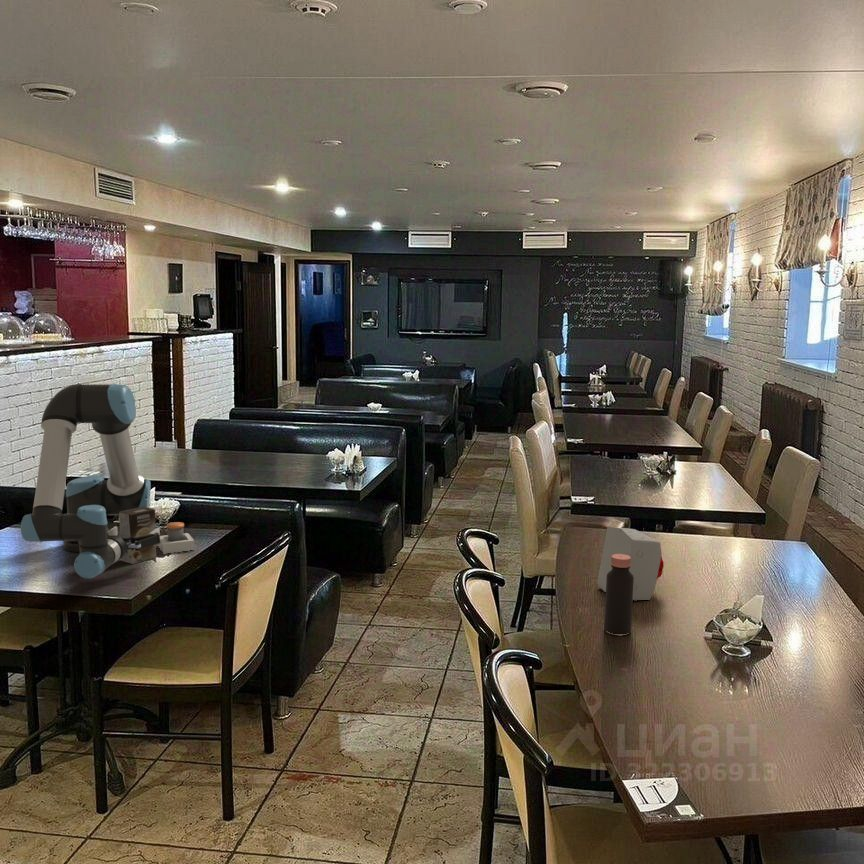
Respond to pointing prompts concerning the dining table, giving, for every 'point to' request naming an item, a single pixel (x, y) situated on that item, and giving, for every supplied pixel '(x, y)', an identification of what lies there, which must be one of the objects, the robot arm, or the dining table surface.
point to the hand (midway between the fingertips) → (137, 531)
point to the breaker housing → (176, 544)
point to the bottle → (619, 596)
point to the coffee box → (137, 532)
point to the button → (175, 531)
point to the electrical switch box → (633, 559)
